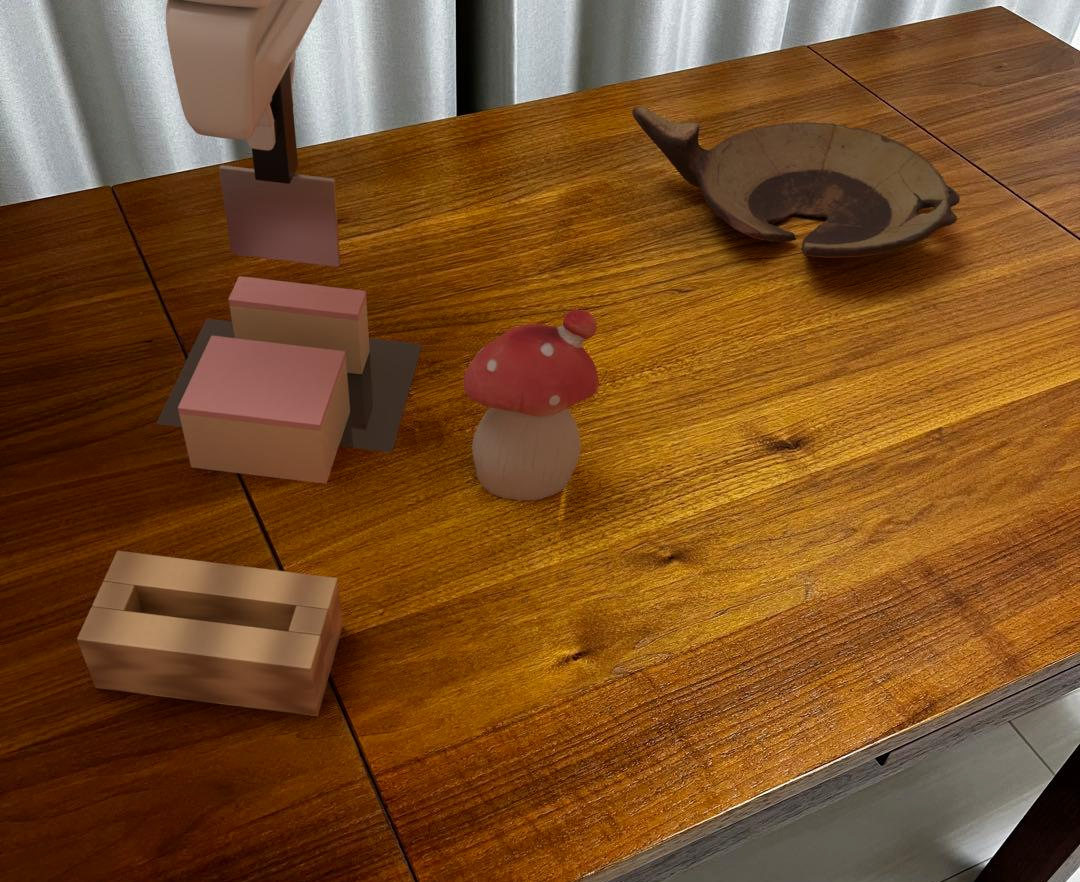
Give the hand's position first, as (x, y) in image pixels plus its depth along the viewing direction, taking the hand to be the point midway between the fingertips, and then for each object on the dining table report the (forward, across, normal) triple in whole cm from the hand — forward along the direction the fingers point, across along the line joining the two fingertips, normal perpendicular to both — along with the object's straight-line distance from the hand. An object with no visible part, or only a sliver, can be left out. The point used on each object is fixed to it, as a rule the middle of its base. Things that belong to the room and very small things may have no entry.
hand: (271, 129), depth 80 cm
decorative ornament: (+21, +8, +19) cm, 30 cm away
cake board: (+21, +4, 0) cm, 22 cm away
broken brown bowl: (+21, -32, +40) cm, 55 cm away
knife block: (+21, +28, +2) cm, 36 cm away
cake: (+20, +8, 0) cm, 22 cm away
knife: (+10, 0, 0) cm, 10 cm away
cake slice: (+20, -1, 0) cm, 21 cm away
